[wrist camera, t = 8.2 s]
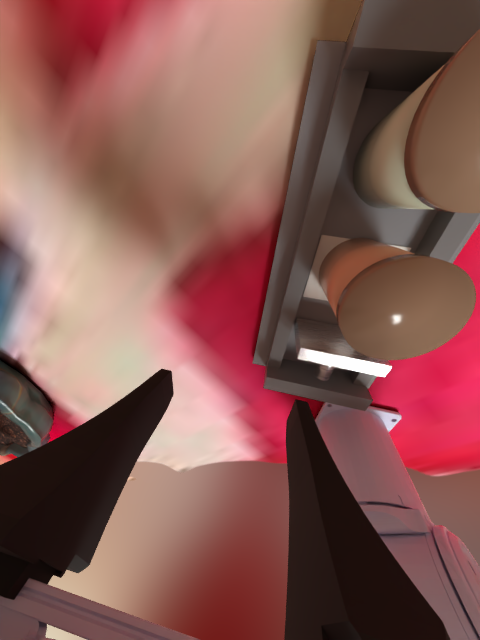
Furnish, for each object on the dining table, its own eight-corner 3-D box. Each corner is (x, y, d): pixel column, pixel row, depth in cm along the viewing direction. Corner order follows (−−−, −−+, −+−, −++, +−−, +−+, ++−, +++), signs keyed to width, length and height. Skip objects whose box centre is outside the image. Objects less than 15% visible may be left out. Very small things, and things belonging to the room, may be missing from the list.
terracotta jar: (370, 308, 16) (425, 370, 10) (308, 295, 16) (324, 346, 10) (406, 243, 13) (511, 273, 7) (332, 229, 14) (372, 247, 8)
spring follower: (349, 364, 19) (366, 403, 15) (286, 351, 19) (287, 386, 16) (367, 330, 17) (392, 366, 13) (296, 317, 17) (301, 348, 14)
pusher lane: (365, 382, 21) (381, 414, 17) (253, 358, 22) (248, 384, 19) (569, 66, 9) (719, -8, 6) (315, 51, 11) (330, -18, 7)
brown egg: (418, 215, 13) (547, 222, 7) (338, 205, 13) (388, 202, 7) (475, 105, 10) (775, -52, 4) (373, 97, 10) (500, -55, 4)
